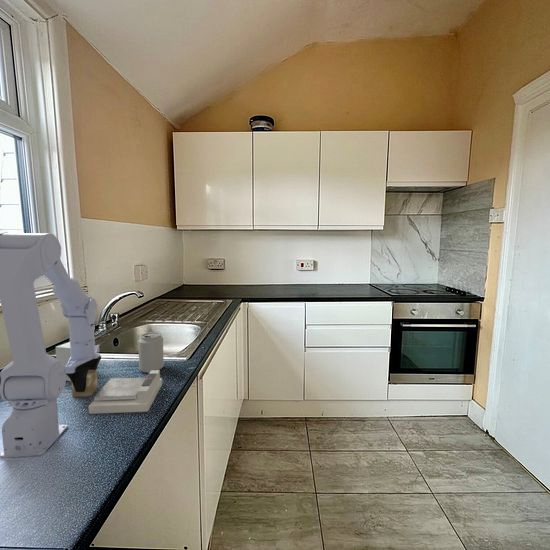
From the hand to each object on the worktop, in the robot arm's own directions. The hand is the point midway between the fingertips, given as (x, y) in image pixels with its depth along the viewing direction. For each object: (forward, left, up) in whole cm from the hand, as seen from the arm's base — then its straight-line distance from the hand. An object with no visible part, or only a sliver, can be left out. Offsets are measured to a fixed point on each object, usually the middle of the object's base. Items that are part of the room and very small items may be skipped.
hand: (85, 386), depth 85 cm
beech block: (0, 0, -2) cm, 2 cm away
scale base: (-4, -13, -2) cm, 14 cm away
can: (+14, -14, -2) cm, 20 cm away
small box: (+11, +8, -2) cm, 14 cm away
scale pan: (-4, -11, +1) cm, 12 cm away
